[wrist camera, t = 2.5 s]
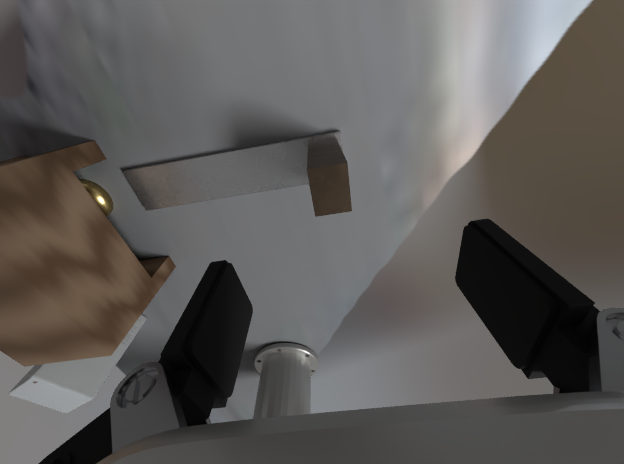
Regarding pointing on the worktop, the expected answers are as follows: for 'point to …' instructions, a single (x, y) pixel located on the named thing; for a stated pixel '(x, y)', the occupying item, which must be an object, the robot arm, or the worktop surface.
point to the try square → (251, 174)
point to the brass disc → (98, 196)
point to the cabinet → (65, 264)
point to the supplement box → (71, 378)
